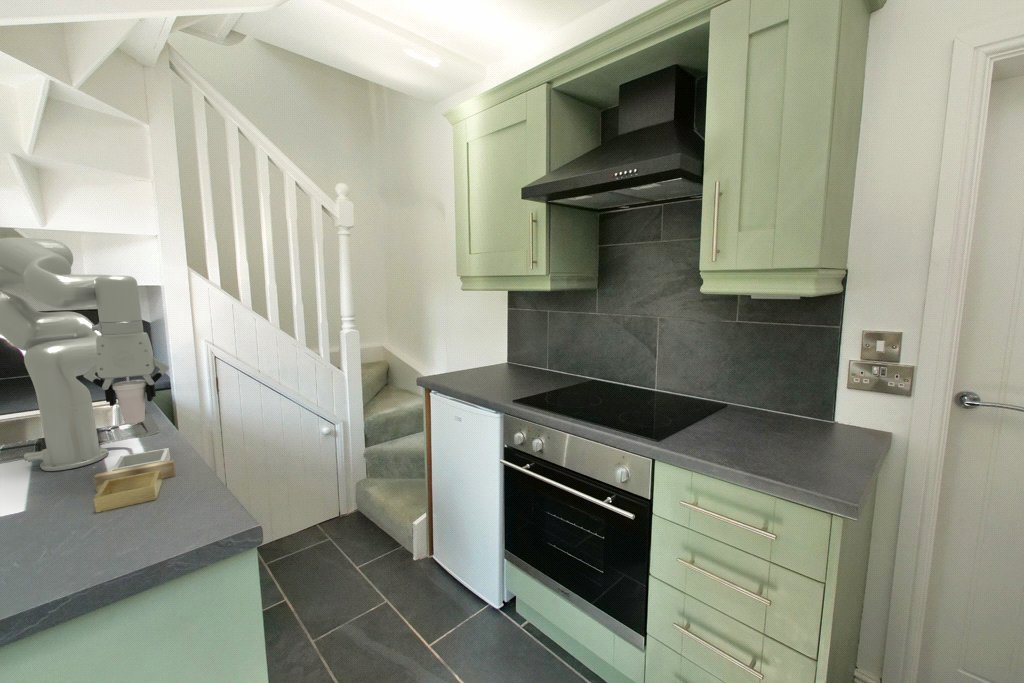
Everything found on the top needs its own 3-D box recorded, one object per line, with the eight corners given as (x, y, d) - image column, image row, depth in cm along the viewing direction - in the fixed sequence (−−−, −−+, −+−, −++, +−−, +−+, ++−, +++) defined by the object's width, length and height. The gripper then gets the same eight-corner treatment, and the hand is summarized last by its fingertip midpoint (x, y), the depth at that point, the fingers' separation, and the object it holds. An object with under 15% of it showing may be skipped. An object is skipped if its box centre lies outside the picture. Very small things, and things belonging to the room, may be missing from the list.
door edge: (96, 492, 98) (94, 477, 98) (98, 488, 100) (96, 473, 99) (174, 476, 106) (173, 462, 105) (175, 473, 107) (174, 459, 107)
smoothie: (111, 427, 104) (102, 368, 102) (126, 418, 110) (118, 363, 108) (143, 424, 106) (135, 367, 103) (156, 416, 112) (149, 361, 110)
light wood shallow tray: (95, 512, 90) (93, 498, 89) (107, 493, 98) (105, 480, 97) (156, 499, 95) (154, 486, 94) (162, 482, 103) (160, 469, 102)
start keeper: (113, 482, 103) (111, 470, 103) (122, 467, 111) (120, 456, 111) (165, 472, 108) (163, 460, 108) (170, 458, 116) (168, 447, 116)
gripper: (66, 333, 97) (79, 412, 99) (166, 327, 106) (175, 400, 108) (76, 329, 103) (88, 404, 106) (170, 324, 112) (178, 393, 115)
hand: (132, 401), depth 107 cm, fingers closed on smoothie, 6 cm apart
